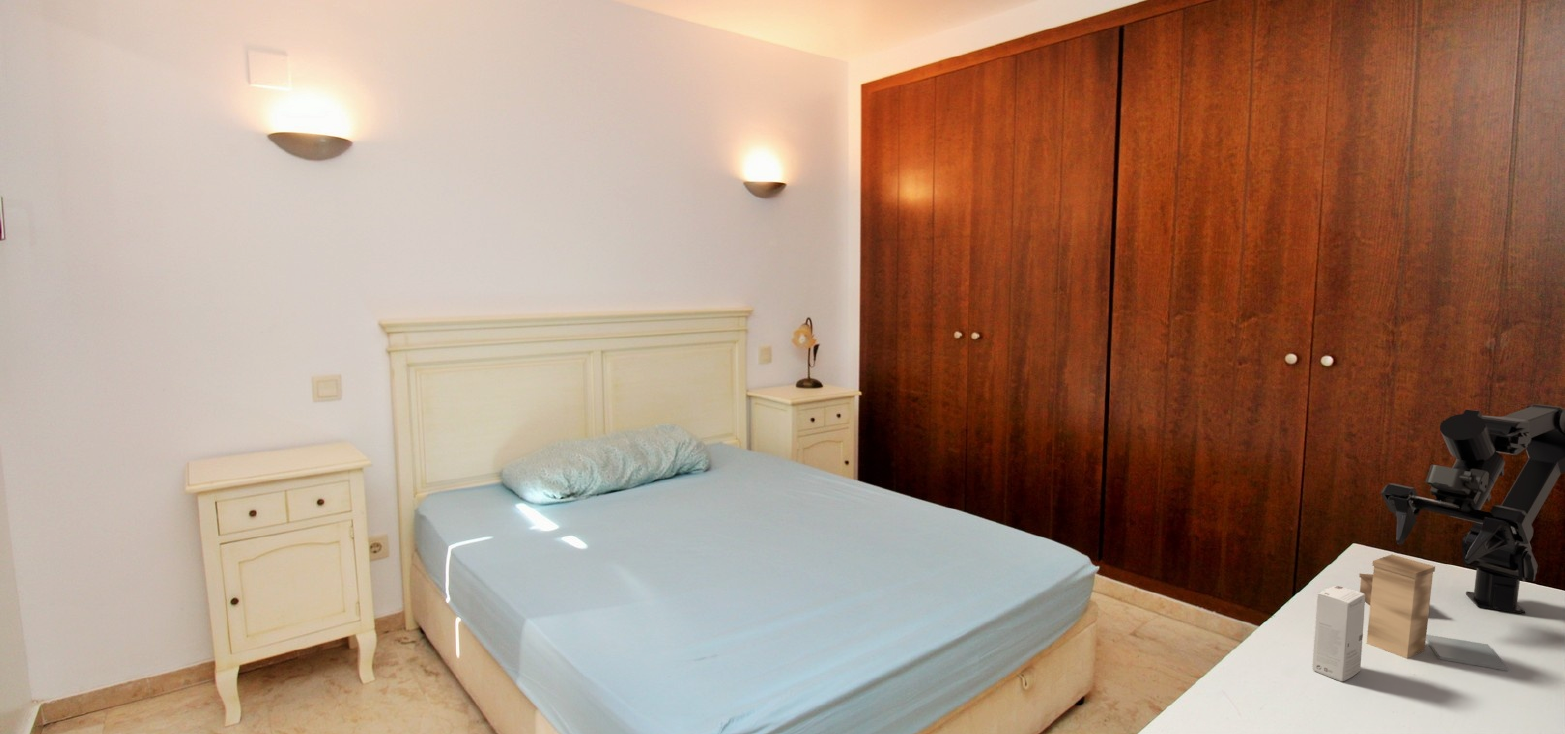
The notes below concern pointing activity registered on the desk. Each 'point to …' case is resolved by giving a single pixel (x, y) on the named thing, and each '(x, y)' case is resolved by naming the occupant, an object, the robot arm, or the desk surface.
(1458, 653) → the coaster
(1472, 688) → the desk surface
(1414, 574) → the oak tea canister
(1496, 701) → the desk surface
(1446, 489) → the robot arm
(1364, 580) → the walnut trinket box
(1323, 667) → the skincare box
